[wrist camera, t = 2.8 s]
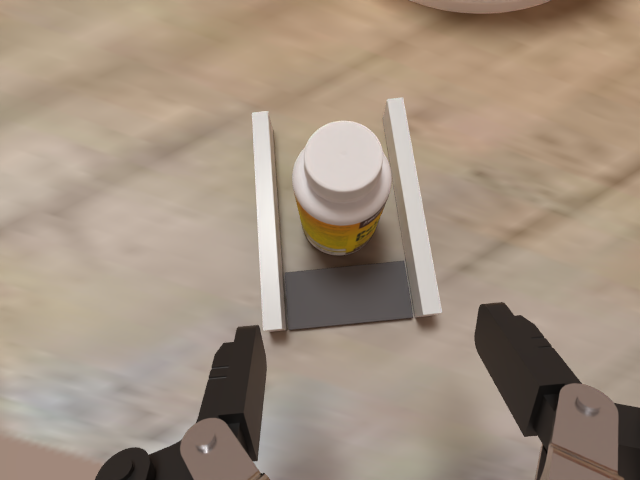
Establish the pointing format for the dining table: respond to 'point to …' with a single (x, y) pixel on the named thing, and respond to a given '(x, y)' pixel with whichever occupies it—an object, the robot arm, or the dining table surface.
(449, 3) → the plate stack
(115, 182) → the dining table surface
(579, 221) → the dining table surface
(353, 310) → the trap channel
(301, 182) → the supplement bottle
